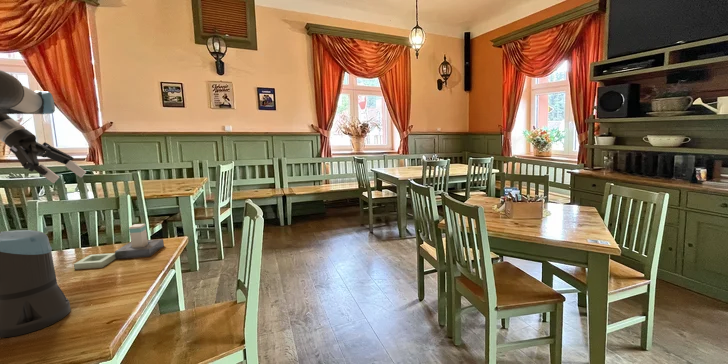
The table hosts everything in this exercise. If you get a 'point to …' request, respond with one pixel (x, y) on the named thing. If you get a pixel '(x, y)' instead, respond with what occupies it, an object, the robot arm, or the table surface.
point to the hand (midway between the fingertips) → (70, 177)
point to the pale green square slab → (95, 261)
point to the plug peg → (138, 235)
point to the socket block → (139, 250)
